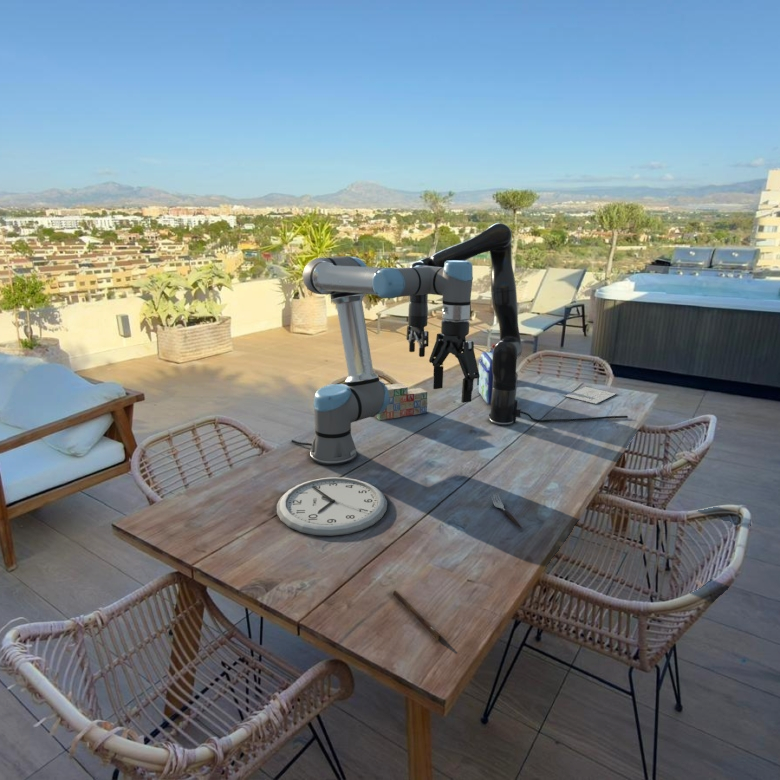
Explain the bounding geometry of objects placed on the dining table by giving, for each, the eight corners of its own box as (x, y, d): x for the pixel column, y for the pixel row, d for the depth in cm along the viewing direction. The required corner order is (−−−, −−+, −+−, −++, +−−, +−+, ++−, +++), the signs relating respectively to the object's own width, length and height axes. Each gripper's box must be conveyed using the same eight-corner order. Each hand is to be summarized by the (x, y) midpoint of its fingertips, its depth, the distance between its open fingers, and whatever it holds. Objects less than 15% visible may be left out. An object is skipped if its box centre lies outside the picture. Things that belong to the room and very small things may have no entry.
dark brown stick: (392, 594, 108) (393, 590, 108) (394, 593, 109) (394, 589, 108) (438, 640, 96) (438, 636, 96) (440, 639, 97) (440, 635, 96)
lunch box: (475, 390, 246) (478, 346, 240) (498, 390, 246) (501, 347, 240) (484, 408, 221) (487, 360, 215) (509, 409, 221) (513, 360, 215)
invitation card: (585, 386, 254) (616, 393, 244) (585, 387, 254) (616, 394, 244) (564, 395, 239) (596, 403, 229) (564, 396, 239) (596, 404, 229)
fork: (516, 530, 132) (517, 523, 131) (489, 500, 147) (489, 493, 146) (526, 529, 133) (526, 522, 132) (497, 499, 147) (498, 492, 147)
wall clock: (392, 527, 129) (268, 531, 127) (391, 533, 130) (269, 537, 127) (383, 473, 158) (282, 475, 155) (383, 478, 158) (282, 480, 156)
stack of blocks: (419, 408, 220) (420, 380, 216) (426, 413, 215) (428, 384, 211) (373, 415, 211) (373, 386, 208) (379, 420, 206) (379, 390, 202)
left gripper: (419, 313, 149) (416, 384, 156) (473, 328, 129) (468, 410, 135) (440, 312, 153) (437, 381, 159) (497, 326, 132) (490, 405, 138)
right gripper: (401, 311, 208) (400, 351, 213) (418, 317, 196) (416, 359, 201) (418, 310, 211) (416, 349, 216) (435, 316, 199) (433, 357, 204)
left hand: (451, 394), depth 147 cm, fingers open, 13 cm apart
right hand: (416, 354), depth 208 cm, fingers open, 8 cm apart
